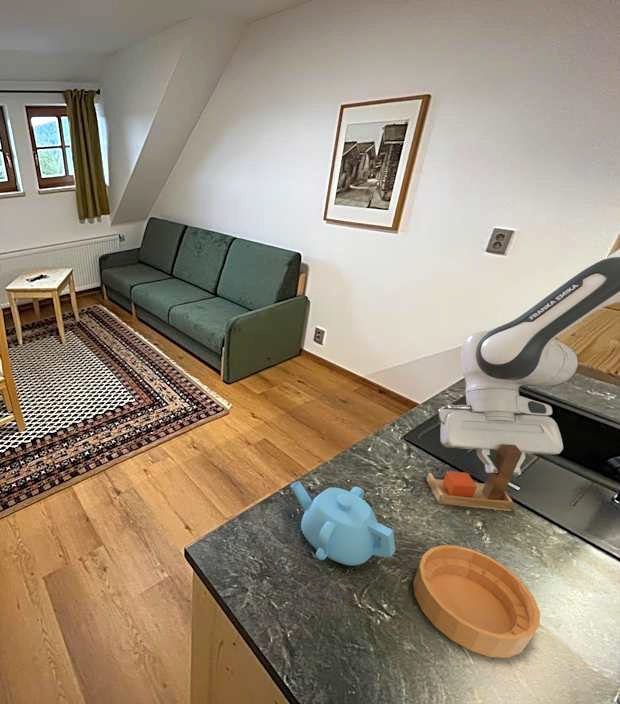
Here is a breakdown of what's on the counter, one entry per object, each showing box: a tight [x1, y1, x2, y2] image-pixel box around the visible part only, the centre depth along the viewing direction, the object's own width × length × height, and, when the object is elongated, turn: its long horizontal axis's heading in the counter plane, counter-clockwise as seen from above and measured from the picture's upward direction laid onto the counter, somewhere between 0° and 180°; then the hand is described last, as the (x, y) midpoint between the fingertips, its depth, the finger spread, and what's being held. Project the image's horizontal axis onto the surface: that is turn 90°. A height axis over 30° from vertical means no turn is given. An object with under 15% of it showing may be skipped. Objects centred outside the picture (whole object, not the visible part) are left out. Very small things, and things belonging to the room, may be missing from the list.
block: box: [442, 470, 477, 498], centre depth 85 cm, size 4×4×4 cm
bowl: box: [412, 544, 541, 659], centre depth 65 cm, size 15×15×6 cm
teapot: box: [290, 481, 396, 567], centre depth 77 cm, size 20×17×12 cm
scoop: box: [426, 444, 522, 512], centre depth 83 cm, size 7×13×14 cm, turn 77°
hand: (503, 474), depth 81 cm, fingers closed on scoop, 2 cm apart
